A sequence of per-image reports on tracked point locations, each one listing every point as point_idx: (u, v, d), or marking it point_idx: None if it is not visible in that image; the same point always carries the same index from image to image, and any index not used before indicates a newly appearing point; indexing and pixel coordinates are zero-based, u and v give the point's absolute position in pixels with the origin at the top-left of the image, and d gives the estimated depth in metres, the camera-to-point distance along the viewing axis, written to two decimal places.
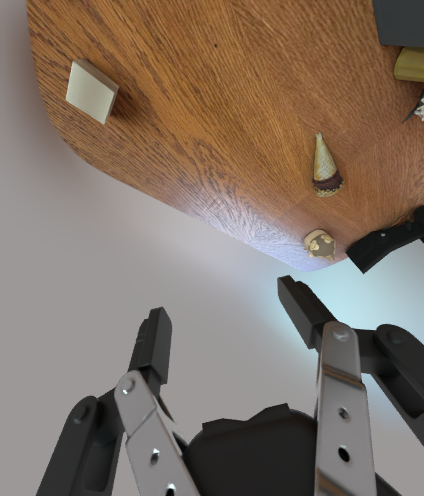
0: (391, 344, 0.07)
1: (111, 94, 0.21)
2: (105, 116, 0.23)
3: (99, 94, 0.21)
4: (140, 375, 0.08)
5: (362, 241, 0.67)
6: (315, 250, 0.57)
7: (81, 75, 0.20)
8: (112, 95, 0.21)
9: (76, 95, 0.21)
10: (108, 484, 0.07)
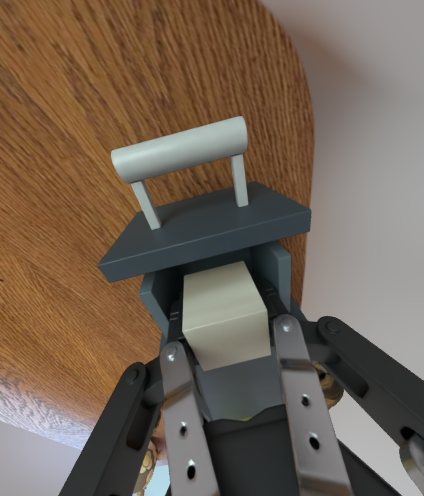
0: (326, 333, 0.07)
1: (264, 354, 0.10)
2: (220, 366, 0.10)
3: (248, 348, 0.10)
4: (181, 345, 0.09)
5: None
6: None
7: (255, 325, 0.09)
8: (264, 355, 0.10)
9: (211, 336, 0.09)
10: (144, 445, 0.07)
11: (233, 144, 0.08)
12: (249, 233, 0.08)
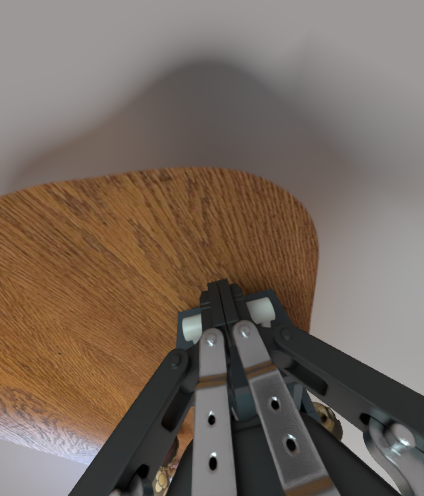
0: (279, 340, 0.08)
1: None
2: None
3: None
4: (220, 332, 0.09)
5: None
6: None
7: None
8: None
9: None
10: (176, 428, 0.08)
11: (265, 321, 0.12)
12: None
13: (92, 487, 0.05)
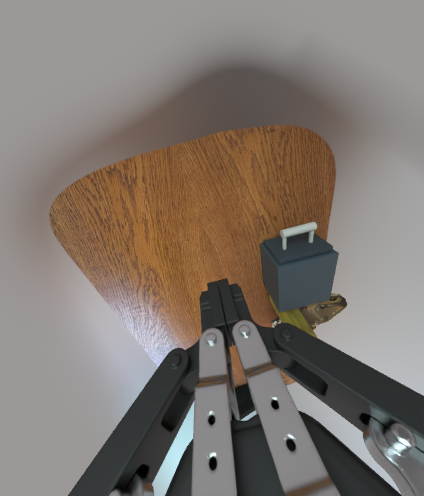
0: (279, 340, 0.08)
1: None
2: None
3: None
4: (220, 332, 0.09)
5: (239, 389, 0.76)
6: None
7: None
8: None
9: None
10: (176, 428, 0.08)
11: (313, 229, 0.33)
12: (317, 252, 0.33)
13: (92, 487, 0.05)
